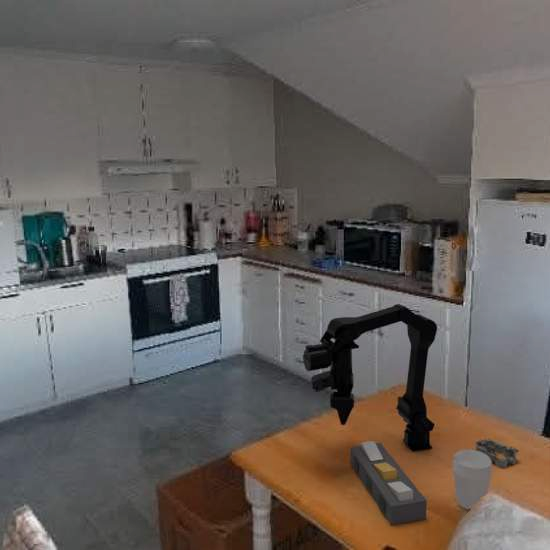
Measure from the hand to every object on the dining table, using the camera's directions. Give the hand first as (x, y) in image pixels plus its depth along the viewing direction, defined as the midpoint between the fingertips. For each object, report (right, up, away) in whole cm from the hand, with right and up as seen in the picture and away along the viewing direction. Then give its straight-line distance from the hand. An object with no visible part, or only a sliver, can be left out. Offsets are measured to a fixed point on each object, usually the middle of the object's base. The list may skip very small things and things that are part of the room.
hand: (343, 416), depth 157 cm
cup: (+29, -17, -18) cm, 38 cm away
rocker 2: (+9, -12, -12) cm, 20 cm away
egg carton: (+43, -12, +2) cm, 45 cm away
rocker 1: (+7, -10, -3) cm, 13 cm away
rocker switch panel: (+9, -16, -11) cm, 22 cm away
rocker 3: (+11, -14, -21) cm, 28 cm away
